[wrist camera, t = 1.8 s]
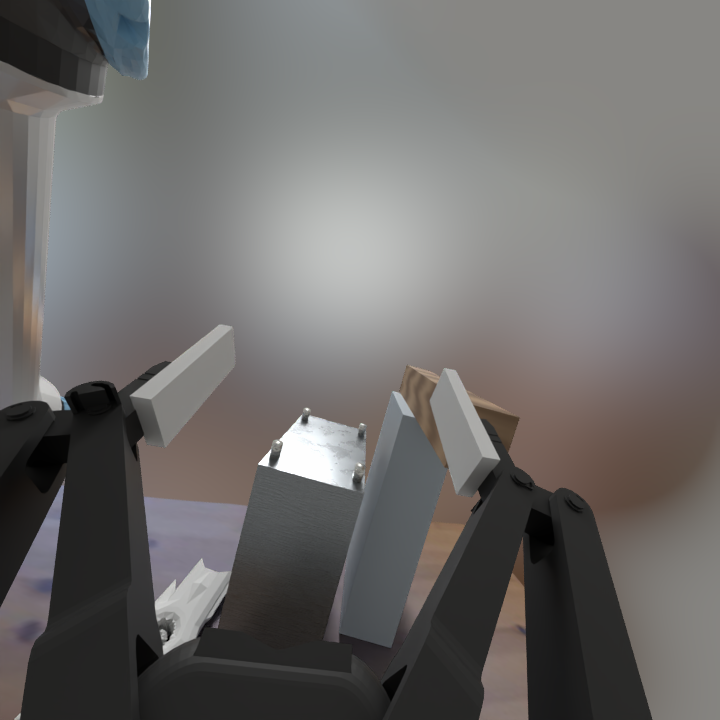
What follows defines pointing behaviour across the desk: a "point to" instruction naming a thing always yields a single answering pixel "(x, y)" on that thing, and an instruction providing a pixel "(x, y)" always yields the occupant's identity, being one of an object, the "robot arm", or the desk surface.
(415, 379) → the rail
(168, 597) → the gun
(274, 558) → the plate
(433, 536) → the desk surface
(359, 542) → the stand
